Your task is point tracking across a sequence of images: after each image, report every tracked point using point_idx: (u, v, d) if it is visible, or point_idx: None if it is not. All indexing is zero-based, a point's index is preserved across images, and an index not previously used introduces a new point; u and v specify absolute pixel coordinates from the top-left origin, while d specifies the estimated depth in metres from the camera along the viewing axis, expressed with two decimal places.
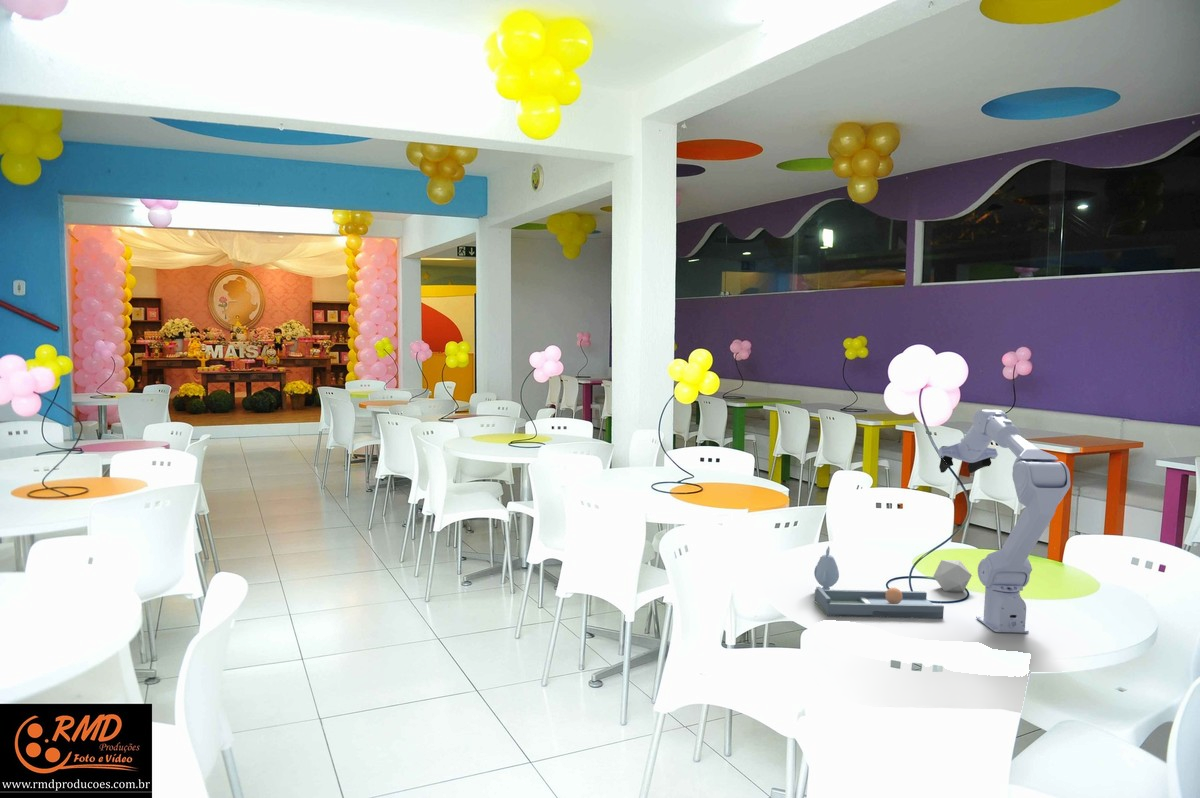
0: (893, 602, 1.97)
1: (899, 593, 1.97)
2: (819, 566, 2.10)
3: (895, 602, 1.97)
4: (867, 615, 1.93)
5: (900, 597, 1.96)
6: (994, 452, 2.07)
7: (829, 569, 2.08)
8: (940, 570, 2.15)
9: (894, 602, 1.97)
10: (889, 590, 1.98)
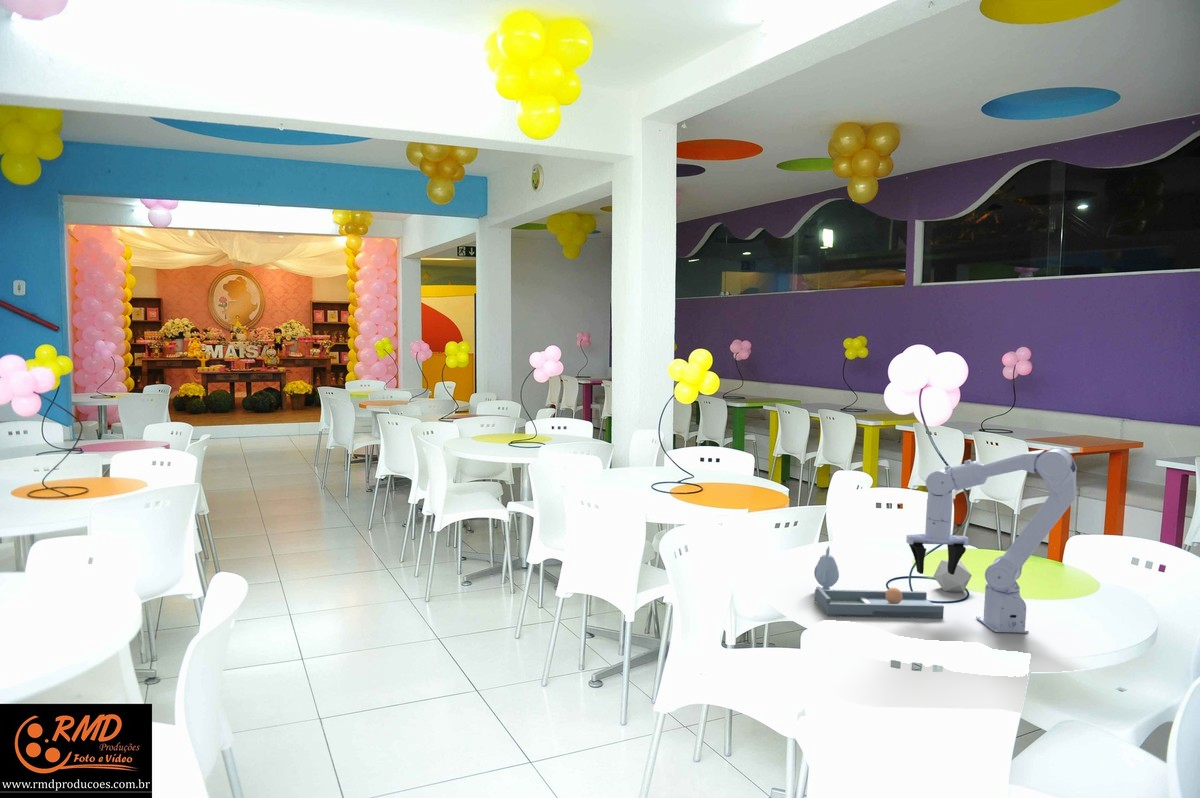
0: (893, 602, 1.97)
1: (899, 593, 1.97)
2: (819, 566, 2.10)
3: (895, 602, 1.97)
4: (867, 615, 1.93)
5: (900, 597, 1.96)
6: (964, 537, 1.97)
7: (829, 569, 2.08)
8: (940, 570, 2.15)
9: (894, 602, 1.97)
10: (889, 590, 1.98)
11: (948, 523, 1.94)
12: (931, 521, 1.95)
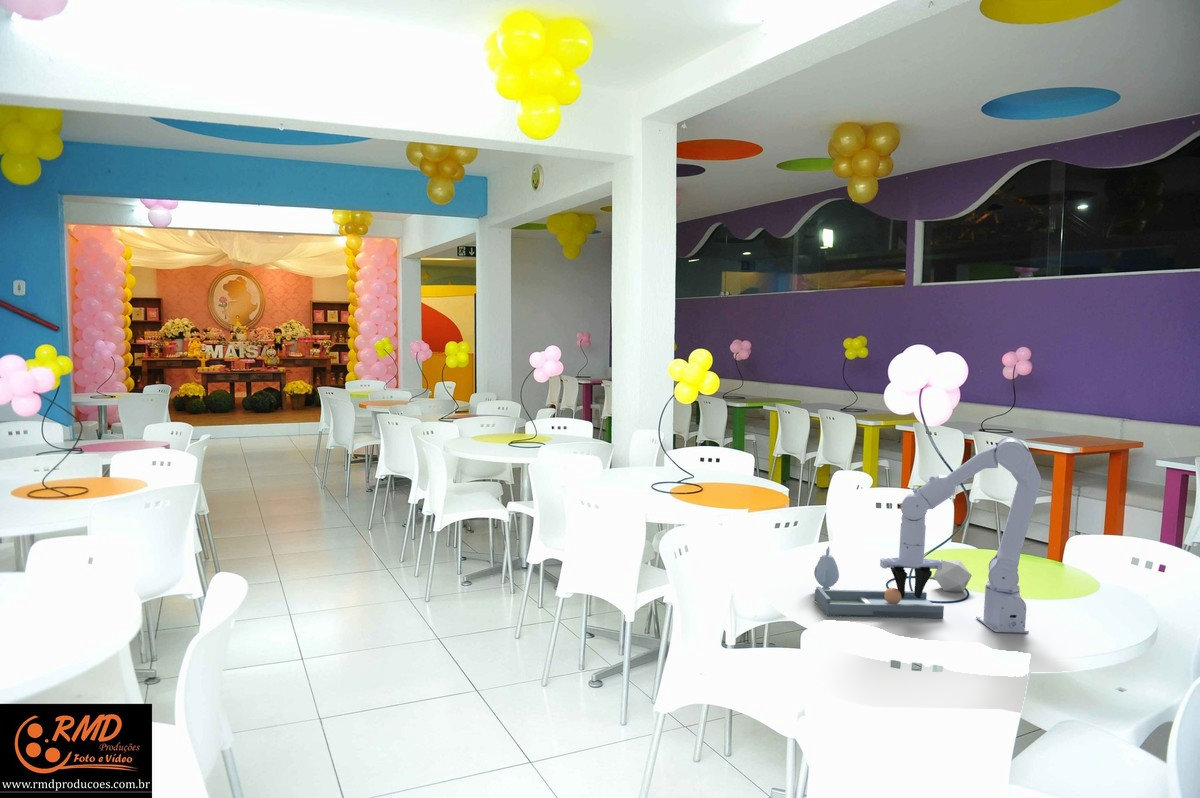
0: (893, 602, 1.97)
1: (897, 593, 1.97)
2: (819, 566, 2.10)
3: (895, 602, 1.97)
4: (867, 615, 1.93)
5: (899, 597, 1.96)
6: (938, 561, 1.97)
7: (829, 569, 2.08)
8: (940, 570, 2.15)
9: (894, 602, 1.97)
10: (887, 591, 1.98)
11: (921, 547, 1.95)
12: (904, 545, 1.96)
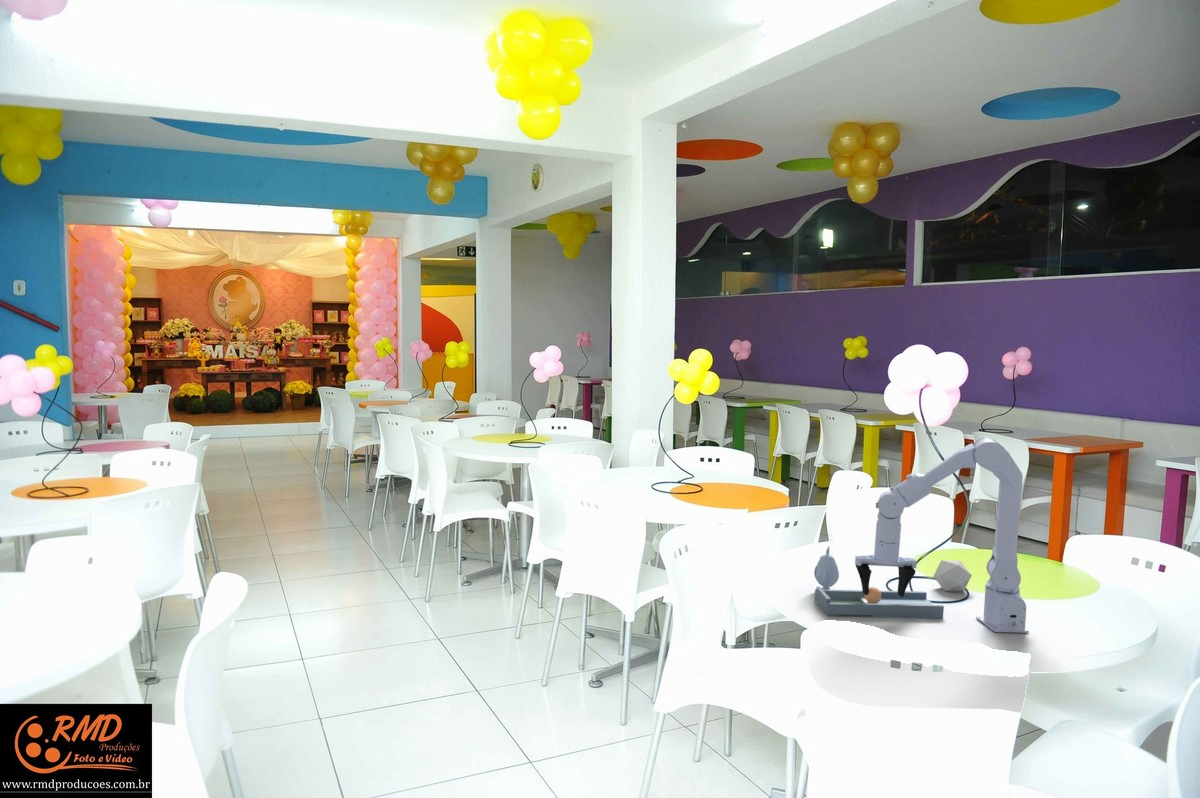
0: (879, 595, 1.97)
1: (869, 599, 1.97)
2: (819, 566, 2.10)
3: (877, 594, 1.97)
4: (867, 615, 1.93)
5: (871, 596, 1.97)
6: None
7: (829, 569, 2.08)
8: (940, 570, 2.15)
9: (878, 595, 1.97)
10: None
11: (896, 545, 1.95)
12: (879, 543, 1.96)
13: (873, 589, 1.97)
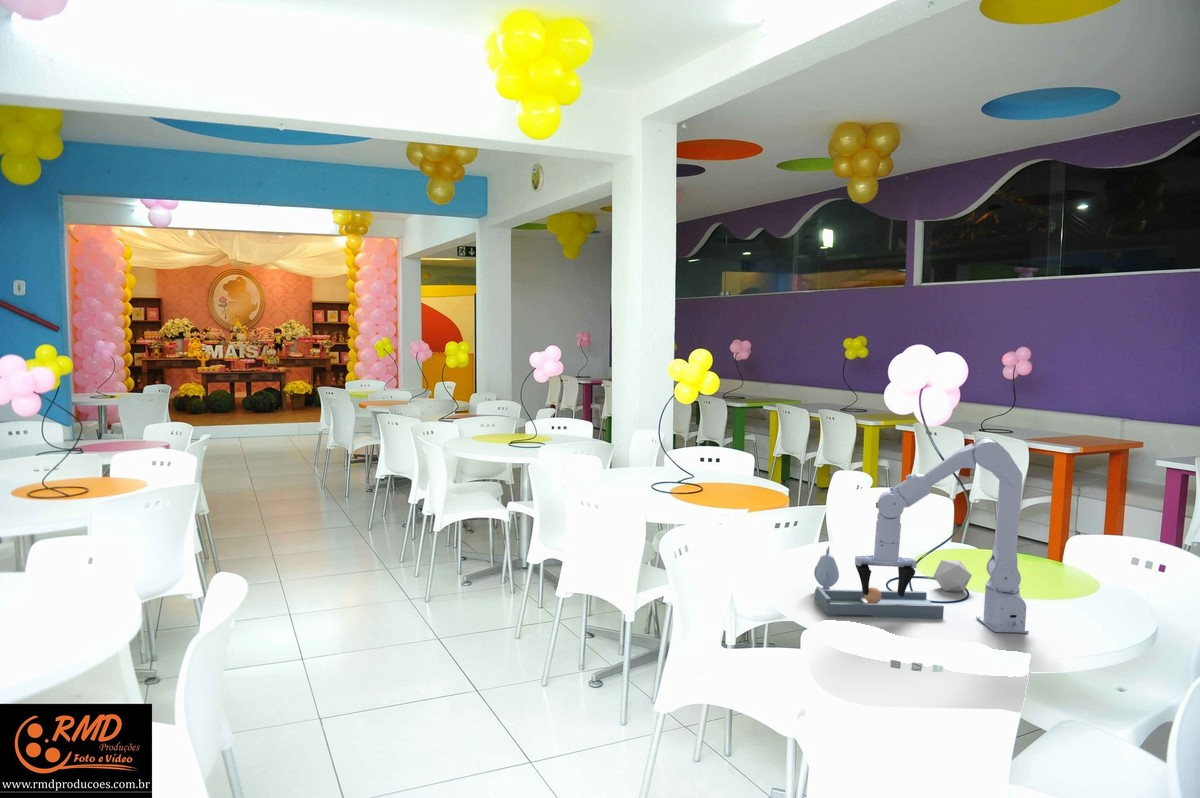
0: (879, 595, 1.97)
1: (869, 599, 1.97)
2: (819, 566, 2.10)
3: (877, 594, 1.97)
4: (867, 615, 1.93)
5: (871, 596, 1.97)
6: (912, 560, 1.98)
7: (829, 569, 2.08)
8: (940, 570, 2.15)
9: (878, 595, 1.97)
10: None
11: (896, 546, 1.95)
12: (879, 543, 1.96)
13: (873, 589, 1.97)
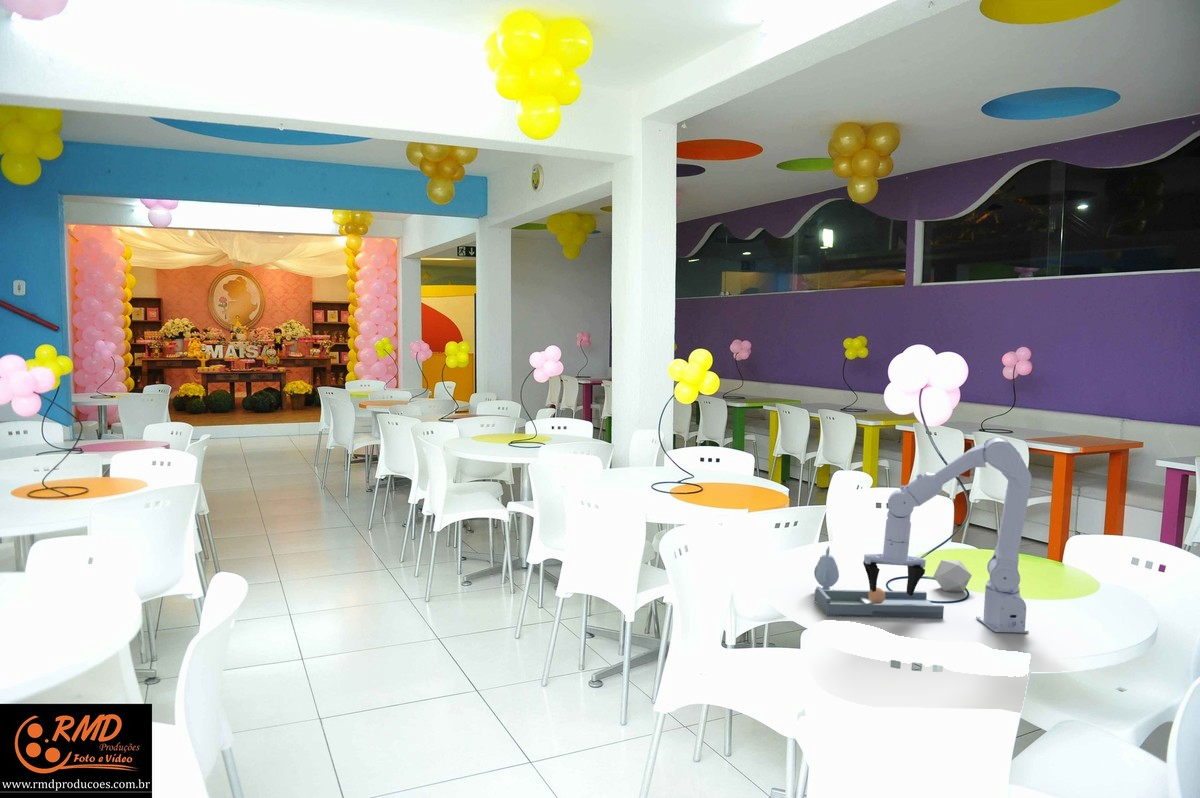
0: (883, 597, 1.97)
1: (872, 596, 1.97)
2: (819, 566, 2.10)
3: (882, 596, 1.97)
4: (867, 615, 1.93)
5: (876, 595, 1.97)
6: (921, 559, 1.98)
7: (829, 569, 2.08)
8: (940, 570, 2.15)
9: (883, 596, 1.97)
10: (874, 603, 1.98)
11: (906, 544, 1.95)
12: (889, 542, 1.96)
13: (880, 589, 1.97)
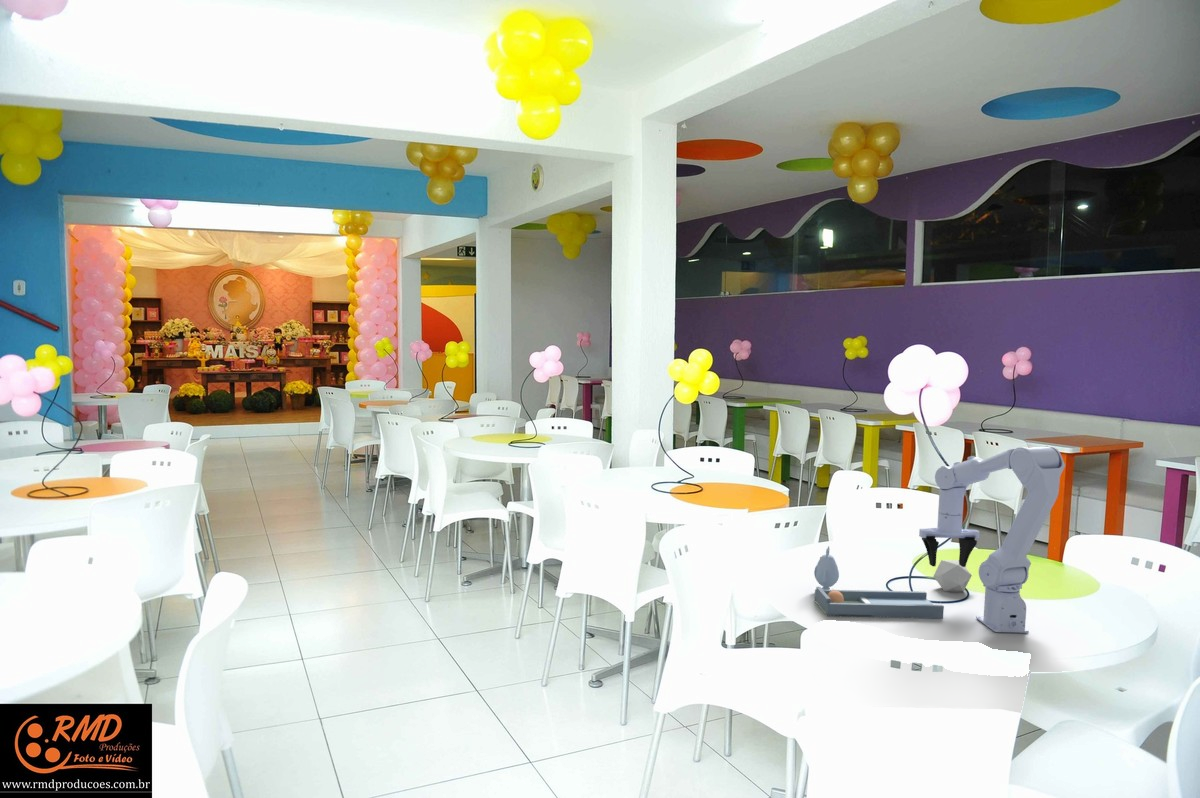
0: None
1: (834, 596, 1.97)
2: (819, 566, 2.10)
3: (841, 602, 1.97)
4: (867, 615, 1.93)
5: (838, 597, 1.96)
6: (975, 531, 2.04)
7: (829, 569, 2.08)
8: (940, 570, 2.15)
9: None
10: None
11: (960, 517, 2.01)
12: (943, 515, 2.02)
13: (843, 597, 1.98)
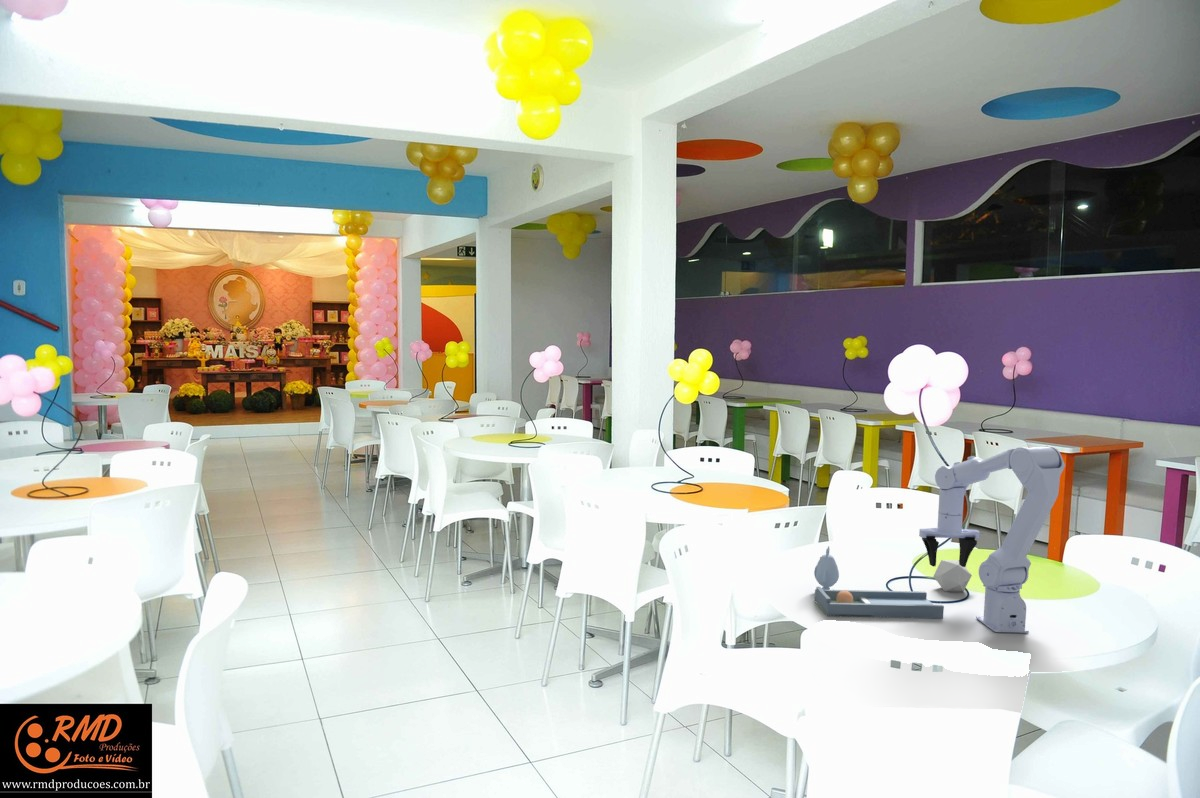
0: None
1: (849, 596, 1.97)
2: (819, 566, 2.10)
3: None
4: (867, 615, 1.93)
5: (851, 600, 1.97)
6: (975, 531, 2.04)
7: (829, 569, 2.08)
8: (940, 570, 2.15)
9: None
10: (840, 593, 1.98)
11: (960, 517, 2.01)
12: (943, 515, 2.02)
13: None
